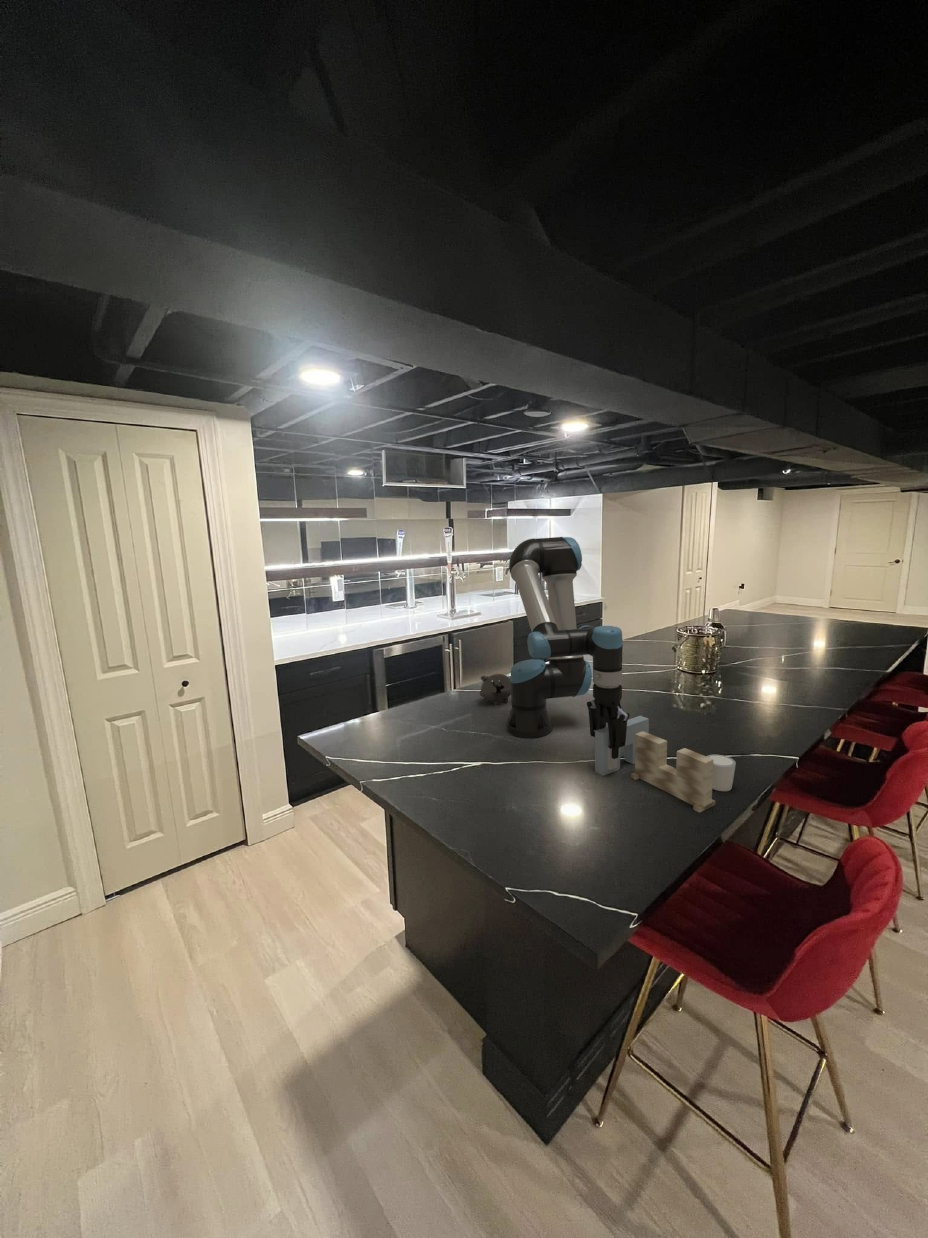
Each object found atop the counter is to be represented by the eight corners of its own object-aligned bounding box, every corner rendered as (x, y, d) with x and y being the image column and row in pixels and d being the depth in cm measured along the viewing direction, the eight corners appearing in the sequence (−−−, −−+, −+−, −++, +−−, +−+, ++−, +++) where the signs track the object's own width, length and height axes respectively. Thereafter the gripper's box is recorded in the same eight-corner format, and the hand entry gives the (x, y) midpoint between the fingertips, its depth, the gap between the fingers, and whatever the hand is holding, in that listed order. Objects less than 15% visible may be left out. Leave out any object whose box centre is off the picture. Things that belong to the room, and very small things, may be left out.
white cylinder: (707, 776, 127) (708, 751, 126) (737, 783, 123) (738, 758, 121) (701, 787, 122) (702, 761, 120) (731, 795, 117) (732, 769, 116)
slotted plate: (603, 776, 130) (603, 734, 128) (595, 771, 132) (595, 730, 130) (648, 758, 138) (648, 718, 136) (639, 754, 141) (640, 715, 139)
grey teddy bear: (473, 703, 191) (472, 675, 189) (504, 695, 198) (503, 668, 196) (489, 711, 181) (487, 682, 179) (520, 702, 189) (519, 674, 187)
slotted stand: (630, 777, 128) (631, 735, 126) (646, 771, 131) (646, 729, 129) (699, 812, 111) (701, 764, 109) (715, 804, 114) (717, 757, 112)
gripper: (575, 679, 133) (576, 758, 137) (620, 694, 119) (620, 781, 123) (595, 674, 137) (595, 751, 141) (641, 688, 123) (640, 773, 127)
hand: (607, 765), depth 132 cm, fingers closed on slotted plate, 3 cm apart
